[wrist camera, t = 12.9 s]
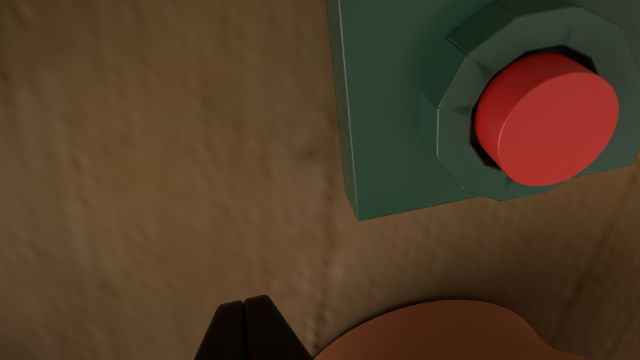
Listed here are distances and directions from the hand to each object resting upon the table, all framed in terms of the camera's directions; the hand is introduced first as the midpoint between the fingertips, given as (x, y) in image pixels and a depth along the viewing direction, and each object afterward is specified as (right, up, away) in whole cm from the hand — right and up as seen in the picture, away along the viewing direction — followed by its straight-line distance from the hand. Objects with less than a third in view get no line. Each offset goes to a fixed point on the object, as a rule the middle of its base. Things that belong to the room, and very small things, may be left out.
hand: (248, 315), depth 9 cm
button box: (+8, +7, +12) cm, 16 cm away
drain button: (+8, +5, +9) cm, 13 cm away
